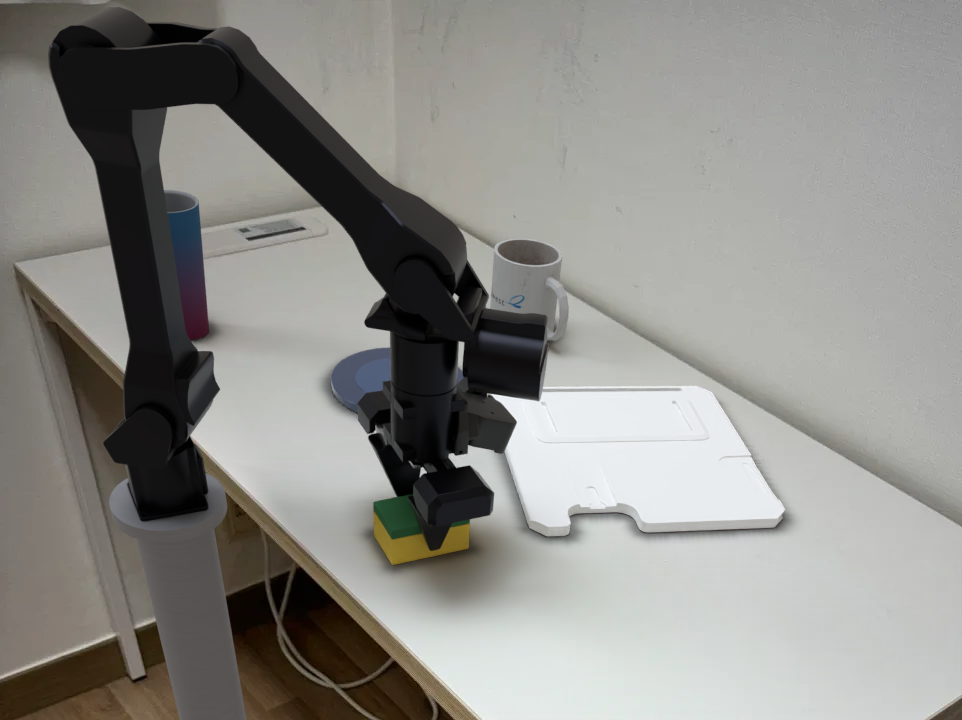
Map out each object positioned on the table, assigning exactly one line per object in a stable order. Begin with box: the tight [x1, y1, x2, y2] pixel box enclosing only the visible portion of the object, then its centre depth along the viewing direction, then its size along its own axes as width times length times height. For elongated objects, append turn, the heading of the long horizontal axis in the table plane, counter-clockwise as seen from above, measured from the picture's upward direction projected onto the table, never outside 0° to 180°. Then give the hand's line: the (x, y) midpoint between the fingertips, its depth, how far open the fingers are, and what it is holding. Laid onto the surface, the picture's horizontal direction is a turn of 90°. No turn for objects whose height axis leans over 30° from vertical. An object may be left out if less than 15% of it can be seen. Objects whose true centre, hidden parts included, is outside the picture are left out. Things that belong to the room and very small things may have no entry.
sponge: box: [372, 494, 471, 566], centre depth 95 cm, size 8×5×4 cm, turn 117°
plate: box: [330, 347, 464, 414], centre depth 116 cm, size 16×16×1 cm
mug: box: [489, 237, 570, 342], centre depth 125 cm, size 12×9×10 cm
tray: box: [489, 385, 786, 537], centre depth 110 cm, size 28×28×2 cm
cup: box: [164, 189, 210, 341], centre depth 115 cm, size 7×7×15 cm
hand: (421, 529), depth 95 cm, fingers open, 6 cm apart
